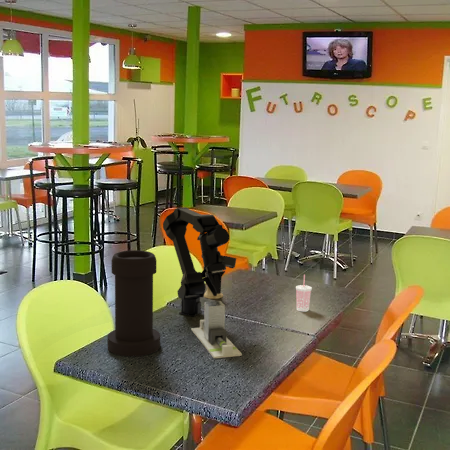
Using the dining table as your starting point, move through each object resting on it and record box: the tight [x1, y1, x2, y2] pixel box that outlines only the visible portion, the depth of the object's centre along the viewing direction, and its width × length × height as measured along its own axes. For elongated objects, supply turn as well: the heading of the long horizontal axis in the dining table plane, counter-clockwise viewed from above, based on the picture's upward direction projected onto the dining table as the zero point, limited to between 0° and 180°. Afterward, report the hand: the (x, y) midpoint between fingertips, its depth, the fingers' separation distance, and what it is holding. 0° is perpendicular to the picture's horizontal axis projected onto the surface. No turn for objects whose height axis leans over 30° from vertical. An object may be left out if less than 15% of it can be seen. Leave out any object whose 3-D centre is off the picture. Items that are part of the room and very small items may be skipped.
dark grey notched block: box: [209, 328, 228, 344], centre depth 197 cm, size 2×5×4 cm, turn 109°
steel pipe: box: [203, 323, 227, 347], centre depth 199 cm, size 23×2×2 cm, turn 19°
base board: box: [190, 319, 243, 359], centre depth 199 cm, size 26×9×3 cm, turn 19°
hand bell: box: [203, 286, 224, 300], centre depth 249 cm, size 8×8×16 cm
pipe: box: [107, 249, 161, 357], centre depth 191 cm, size 16×16×30 cm
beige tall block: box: [203, 300, 226, 341], centre depth 200 cm, size 5×5×12 cm
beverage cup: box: [295, 274, 313, 312], centre depth 235 cm, size 6×6×14 cm
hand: (217, 294), depth 209 cm, fingers open, 9 cm apart
